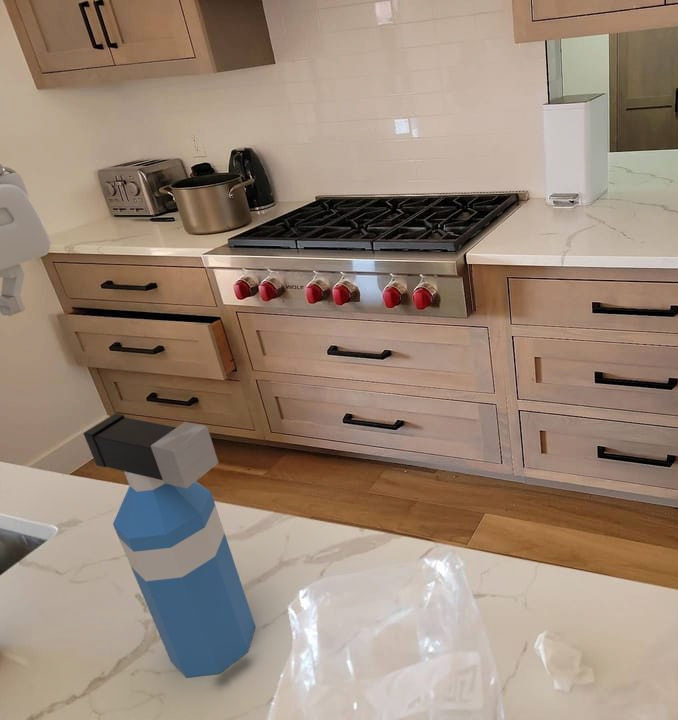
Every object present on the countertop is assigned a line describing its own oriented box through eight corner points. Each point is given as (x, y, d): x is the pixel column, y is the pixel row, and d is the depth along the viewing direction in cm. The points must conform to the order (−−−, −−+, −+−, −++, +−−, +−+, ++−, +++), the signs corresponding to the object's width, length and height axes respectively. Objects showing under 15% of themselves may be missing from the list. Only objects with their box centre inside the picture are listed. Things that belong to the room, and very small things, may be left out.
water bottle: (221, 687, 72) (148, 499, 61) (151, 668, 75) (71, 485, 64) (272, 619, 80) (216, 441, 68) (207, 604, 83) (144, 431, 71)
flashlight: (94, 466, 66) (79, 430, 64) (129, 443, 70) (115, 408, 68) (186, 489, 62) (173, 450, 60) (219, 462, 65) (207, 425, 63)
